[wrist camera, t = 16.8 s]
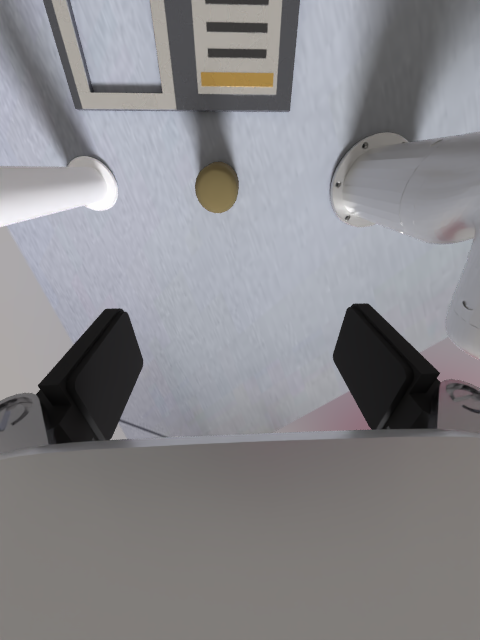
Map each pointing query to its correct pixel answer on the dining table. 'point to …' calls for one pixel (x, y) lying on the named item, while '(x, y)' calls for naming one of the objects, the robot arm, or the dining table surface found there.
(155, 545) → the robot arm
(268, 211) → the dining table surface
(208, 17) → the panel
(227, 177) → the cork
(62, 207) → the candle
